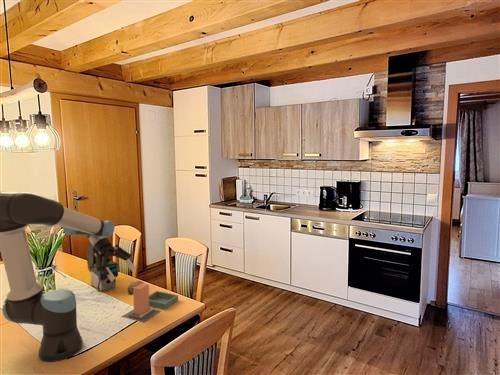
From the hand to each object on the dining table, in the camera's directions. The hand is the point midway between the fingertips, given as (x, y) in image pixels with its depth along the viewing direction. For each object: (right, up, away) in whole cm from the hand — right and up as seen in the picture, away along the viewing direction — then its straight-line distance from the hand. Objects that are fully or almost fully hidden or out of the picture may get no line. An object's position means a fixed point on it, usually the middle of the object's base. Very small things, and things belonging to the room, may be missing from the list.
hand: (124, 274), depth 157 cm
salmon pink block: (+10, -18, -3) cm, 21 cm away
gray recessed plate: (+10, -19, -3) cm, 22 cm away
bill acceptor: (-25, -16, +32) cm, 43 cm away
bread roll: (-2, -17, +25) cm, 30 cm away
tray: (+15, -18, +9) cm, 26 cm away
